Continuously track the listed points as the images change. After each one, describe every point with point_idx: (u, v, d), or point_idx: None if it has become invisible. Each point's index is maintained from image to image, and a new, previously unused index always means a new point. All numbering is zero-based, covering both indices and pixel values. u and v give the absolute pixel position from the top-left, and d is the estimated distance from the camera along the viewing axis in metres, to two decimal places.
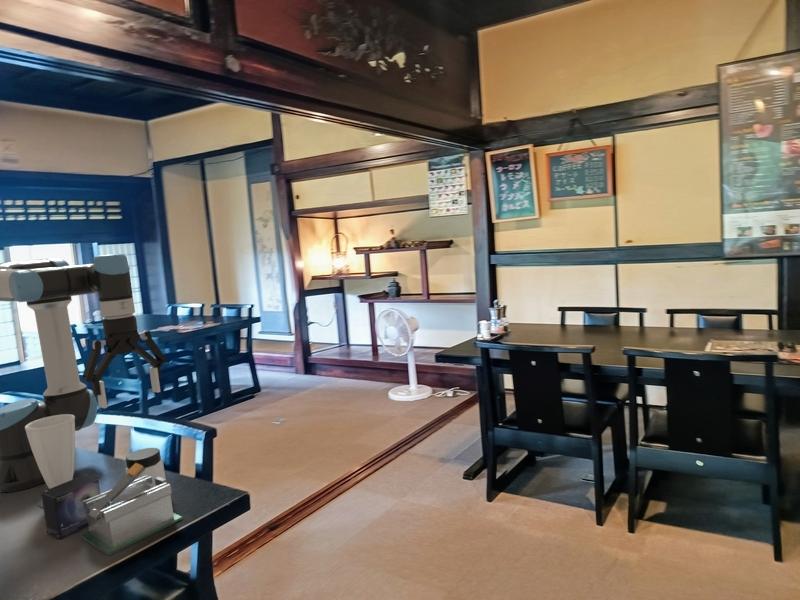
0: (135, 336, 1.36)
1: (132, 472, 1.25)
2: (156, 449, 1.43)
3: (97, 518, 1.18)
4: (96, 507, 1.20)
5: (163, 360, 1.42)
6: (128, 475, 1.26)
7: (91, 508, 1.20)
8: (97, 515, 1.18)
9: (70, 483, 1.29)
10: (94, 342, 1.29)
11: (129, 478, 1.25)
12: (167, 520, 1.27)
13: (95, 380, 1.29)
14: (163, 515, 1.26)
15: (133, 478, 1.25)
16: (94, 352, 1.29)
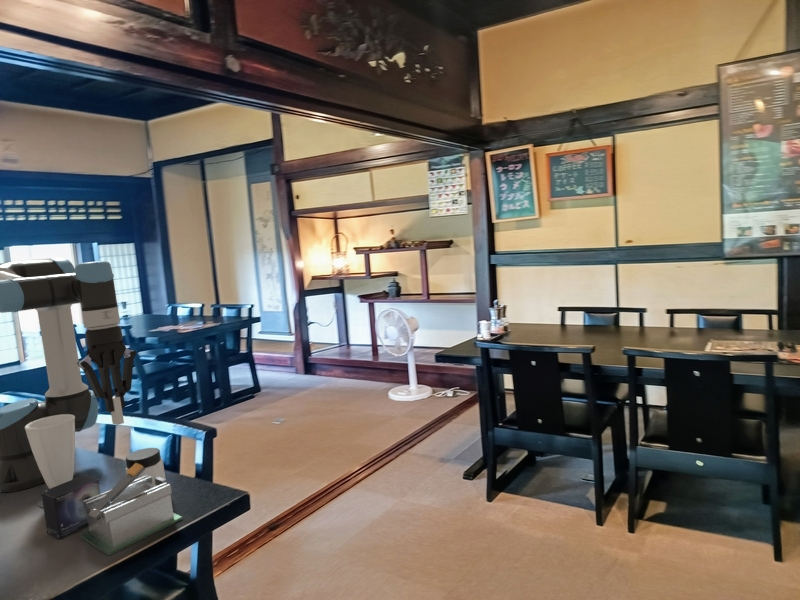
0: (121, 347, 1.30)
1: (132, 472, 1.25)
2: (156, 449, 1.43)
3: (97, 518, 1.18)
4: (96, 507, 1.20)
5: (127, 387, 1.31)
6: (128, 475, 1.26)
7: (91, 508, 1.20)
8: (97, 515, 1.18)
9: (70, 483, 1.29)
10: (80, 364, 1.23)
11: (129, 478, 1.25)
12: (167, 520, 1.27)
13: (109, 397, 1.27)
14: (163, 515, 1.26)
15: (133, 478, 1.25)
16: (87, 372, 1.24)
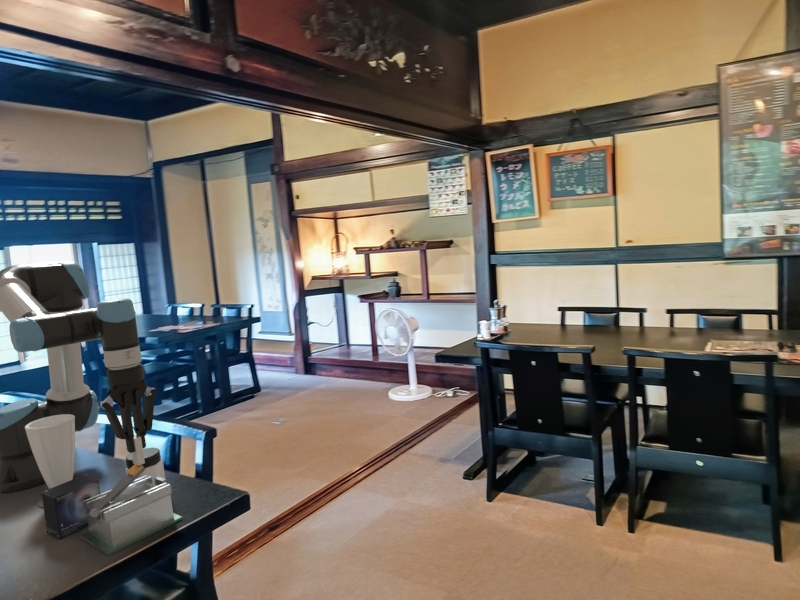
0: (142, 385, 1.27)
1: (132, 472, 1.25)
2: (156, 449, 1.43)
3: (97, 518, 1.18)
4: (96, 507, 1.20)
5: (148, 426, 1.28)
6: (128, 475, 1.26)
7: (91, 508, 1.20)
8: (97, 515, 1.18)
9: (70, 483, 1.29)
10: (101, 406, 1.20)
11: (129, 478, 1.25)
12: (167, 520, 1.27)
13: (130, 438, 1.24)
14: (163, 515, 1.26)
15: (133, 478, 1.25)
16: (109, 413, 1.21)
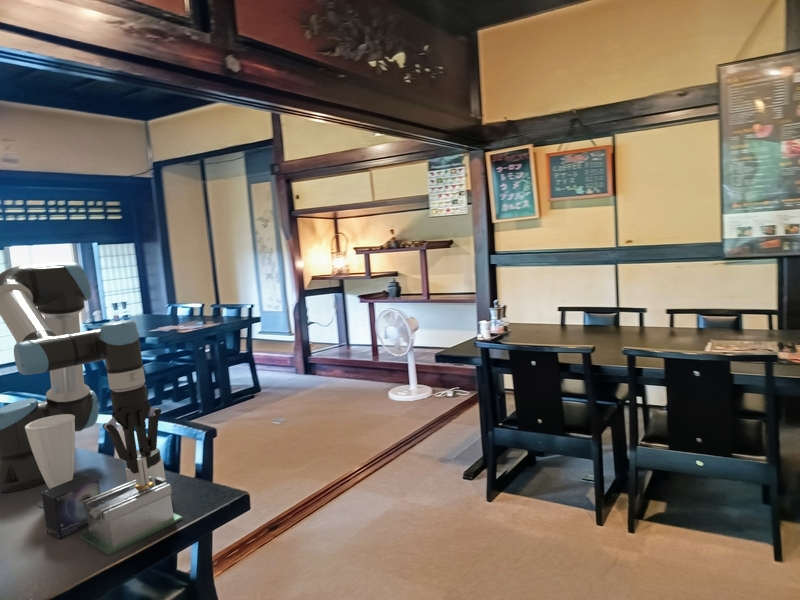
0: (146, 406, 1.27)
1: (141, 486, 1.27)
2: (156, 449, 1.43)
3: (96, 518, 1.18)
4: (98, 508, 1.20)
5: (153, 447, 1.29)
6: (136, 489, 1.27)
7: (93, 507, 1.20)
8: (97, 514, 1.18)
9: (70, 483, 1.29)
10: (105, 427, 1.21)
11: (137, 491, 1.26)
12: (167, 520, 1.27)
13: (133, 459, 1.25)
14: (163, 515, 1.26)
15: (140, 492, 1.26)
16: (113, 435, 1.22)
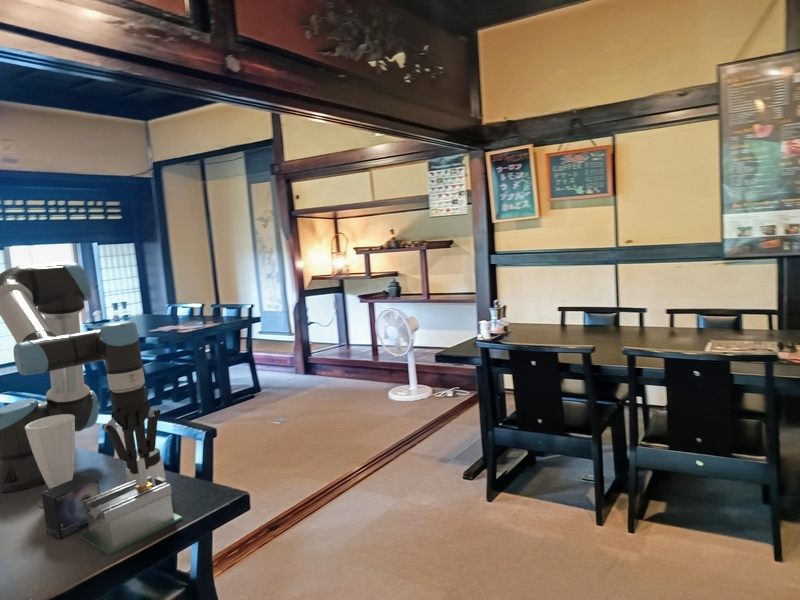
0: (146, 407, 1.27)
1: (142, 487, 1.27)
2: (156, 449, 1.43)
3: (96, 518, 1.18)
4: (98, 508, 1.20)
5: (151, 448, 1.28)
6: (136, 490, 1.27)
7: (93, 507, 1.20)
8: (97, 514, 1.18)
9: (70, 483, 1.29)
10: (105, 428, 1.21)
11: (137, 492, 1.26)
12: (167, 520, 1.27)
13: (133, 460, 1.25)
14: (163, 515, 1.26)
15: None
16: (112, 436, 1.22)
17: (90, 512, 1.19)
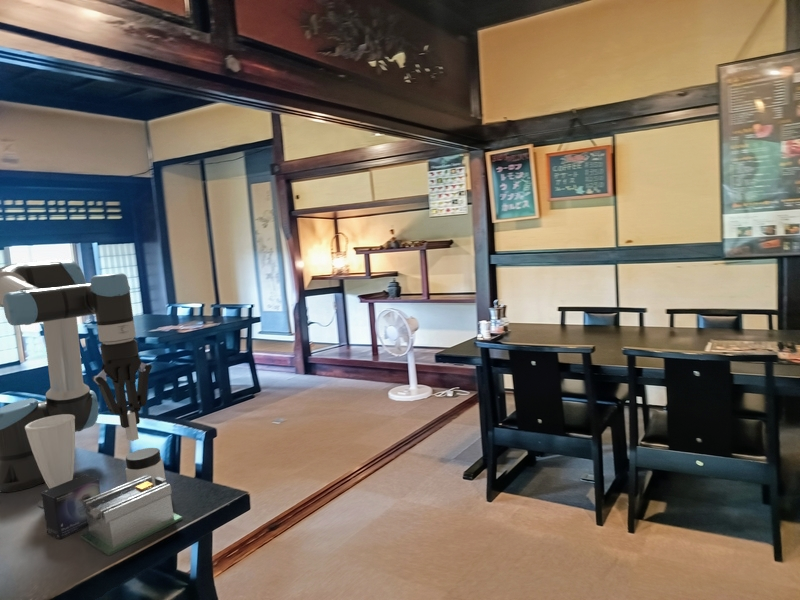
0: (136, 361, 1.26)
1: (142, 487, 1.27)
2: (156, 449, 1.43)
3: (96, 518, 1.18)
4: (98, 508, 1.20)
5: (142, 402, 1.27)
6: (136, 490, 1.27)
7: (93, 507, 1.20)
8: (97, 514, 1.18)
9: (70, 483, 1.29)
10: (95, 380, 1.20)
11: (137, 492, 1.26)
12: (167, 520, 1.27)
13: (124, 413, 1.24)
14: (163, 515, 1.26)
15: None
16: (102, 388, 1.21)
17: (90, 512, 1.19)
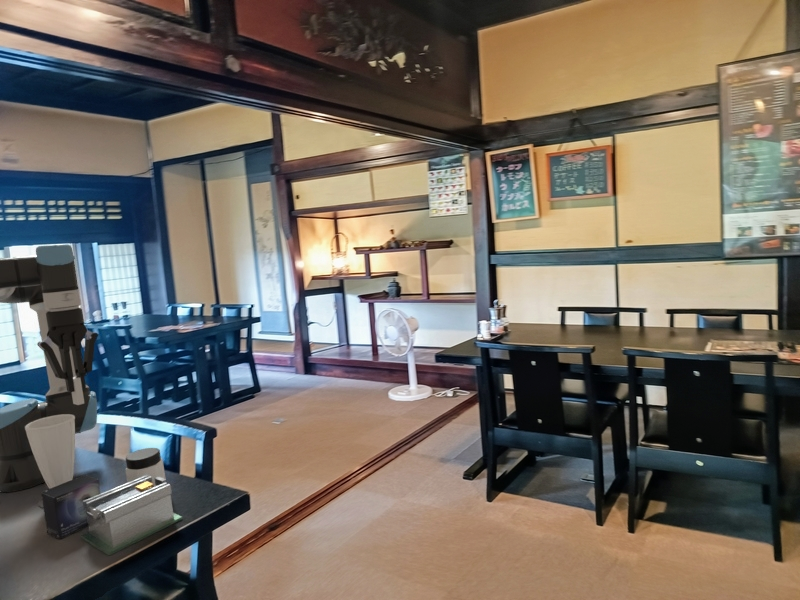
0: (82, 329, 1.32)
1: (142, 487, 1.27)
2: (156, 449, 1.43)
3: (96, 518, 1.18)
4: (98, 508, 1.20)
5: (88, 368, 1.33)
6: (136, 490, 1.27)
7: (93, 507, 1.20)
8: (97, 514, 1.18)
9: (70, 483, 1.29)
10: (40, 345, 1.26)
11: (137, 492, 1.26)
12: (167, 520, 1.27)
13: (69, 378, 1.30)
14: (163, 515, 1.26)
15: None
16: (47, 353, 1.26)
17: (90, 512, 1.19)
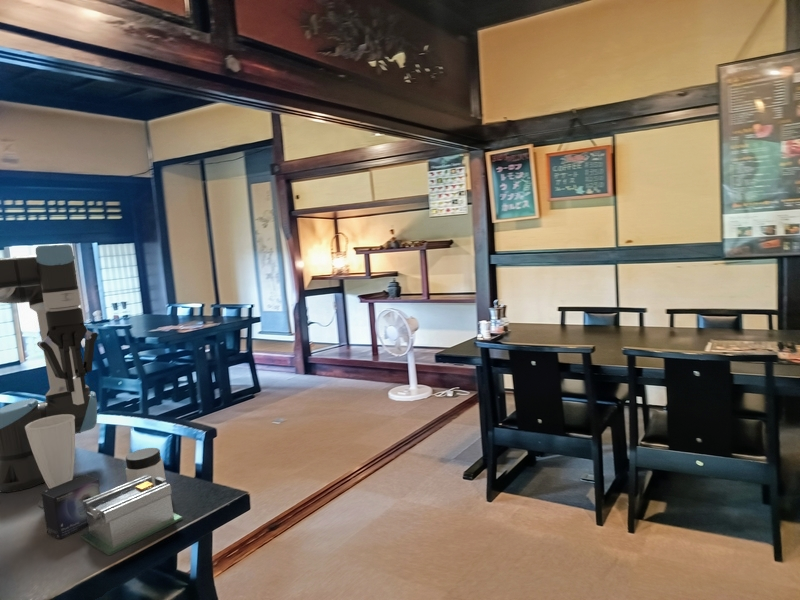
0: (82, 328, 1.32)
1: (142, 487, 1.27)
2: (156, 449, 1.43)
3: (96, 518, 1.18)
4: (98, 508, 1.20)
5: (88, 368, 1.33)
6: (136, 490, 1.27)
7: (93, 507, 1.20)
8: (97, 514, 1.18)
9: (70, 483, 1.29)
10: (39, 345, 1.26)
11: (137, 492, 1.26)
12: (167, 520, 1.27)
13: (69, 378, 1.30)
14: (163, 515, 1.26)
15: None
16: (47, 353, 1.26)
17: (90, 512, 1.19)
